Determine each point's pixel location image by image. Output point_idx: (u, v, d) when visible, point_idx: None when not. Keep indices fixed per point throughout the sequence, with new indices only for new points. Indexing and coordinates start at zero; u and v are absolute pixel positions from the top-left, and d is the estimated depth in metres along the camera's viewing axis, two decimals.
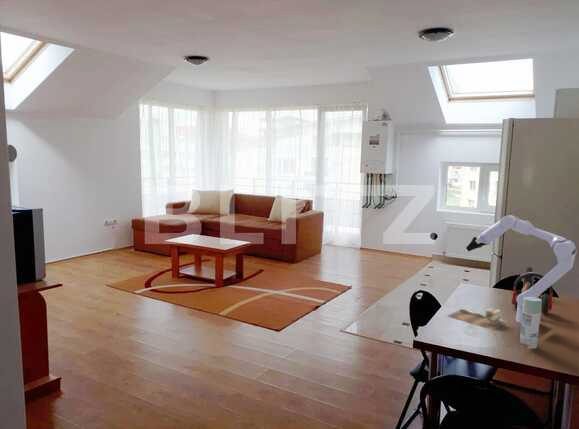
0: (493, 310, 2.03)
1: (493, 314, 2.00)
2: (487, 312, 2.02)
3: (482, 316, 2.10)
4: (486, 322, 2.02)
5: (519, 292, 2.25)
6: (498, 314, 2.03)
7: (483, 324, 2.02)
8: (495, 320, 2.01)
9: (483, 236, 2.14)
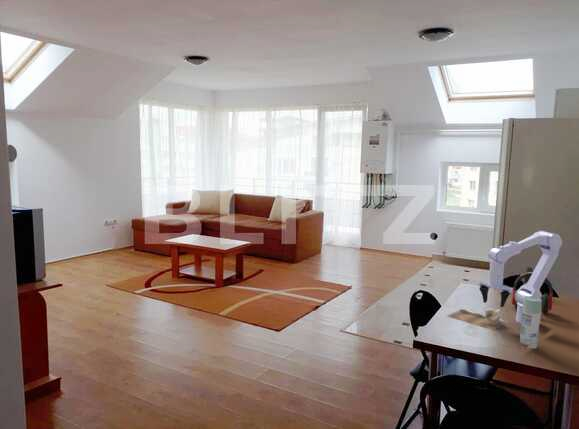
0: (493, 310, 2.03)
1: (493, 314, 2.00)
2: (487, 312, 2.02)
3: (482, 316, 2.10)
4: (486, 322, 2.02)
5: None
6: (498, 314, 2.03)
7: (483, 324, 2.02)
8: (495, 320, 2.01)
9: (500, 284, 1.99)
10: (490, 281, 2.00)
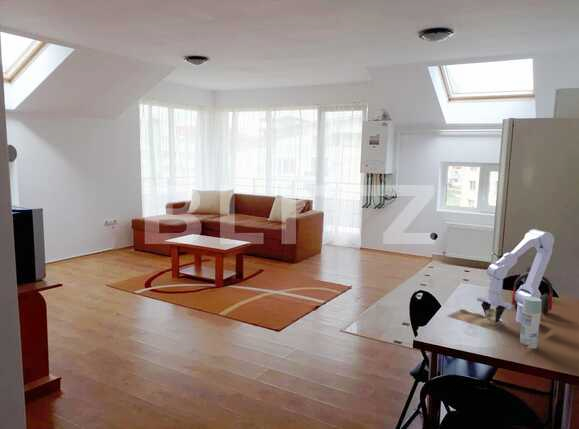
0: (493, 310, 2.03)
1: (493, 314, 2.00)
2: (487, 312, 2.02)
3: (482, 316, 2.10)
4: (486, 322, 2.02)
5: None
6: None
7: (483, 324, 2.02)
8: (495, 320, 2.01)
9: (499, 300, 2.00)
10: (489, 297, 2.01)
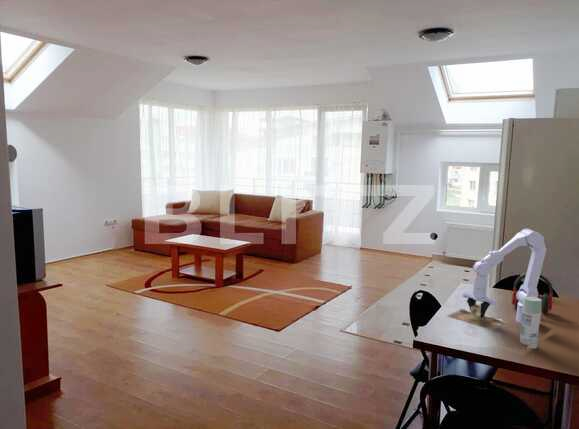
0: (478, 306, 2.08)
1: (478, 310, 2.05)
2: (472, 308, 2.07)
3: None
4: (472, 317, 2.07)
5: None
6: None
7: (483, 324, 2.02)
8: (480, 316, 2.06)
9: (484, 296, 2.05)
10: (474, 293, 2.06)
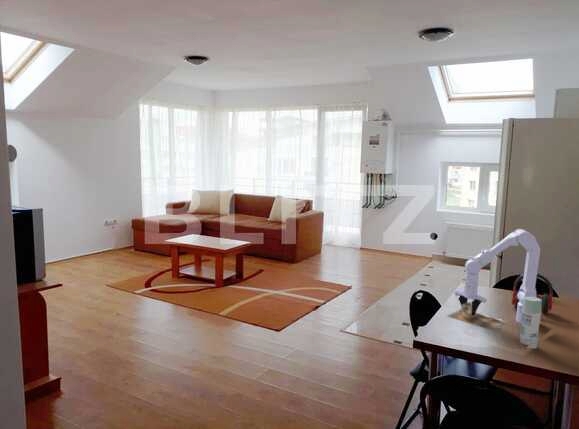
0: (469, 303, 2.11)
1: (469, 307, 2.08)
2: (464, 306, 2.10)
3: (482, 316, 2.10)
4: (463, 315, 2.10)
5: None
6: None
7: (483, 324, 2.02)
8: (471, 313, 2.09)
9: (475, 294, 2.08)
10: (465, 291, 2.09)
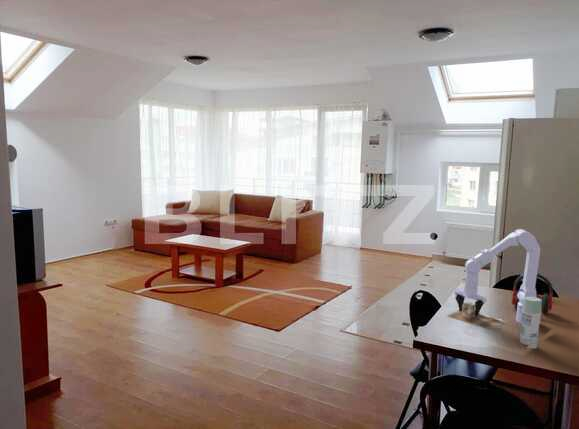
0: (469, 303, 2.11)
1: (469, 307, 2.08)
2: (464, 306, 2.10)
3: (482, 316, 2.10)
4: (463, 315, 2.10)
5: None
6: (474, 308, 2.11)
7: (483, 324, 2.02)
8: (471, 313, 2.09)
9: (475, 294, 2.08)
10: (465, 291, 2.09)
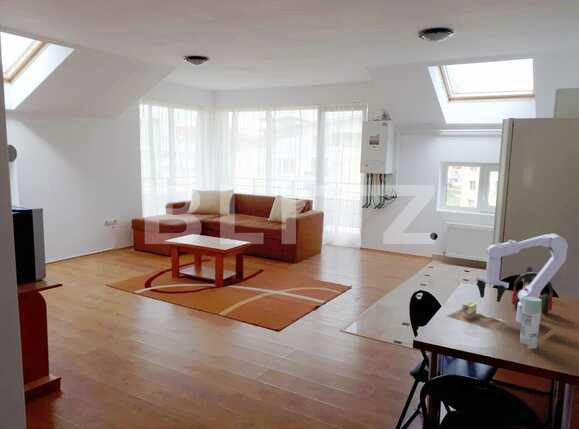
0: (469, 303, 2.11)
1: (469, 307, 2.08)
2: (464, 306, 2.10)
3: (482, 316, 2.10)
4: (463, 315, 2.10)
5: None
6: (474, 308, 2.11)
7: (483, 324, 2.02)
8: (471, 313, 2.09)
9: (497, 280, 2.06)
10: (487, 277, 2.07)
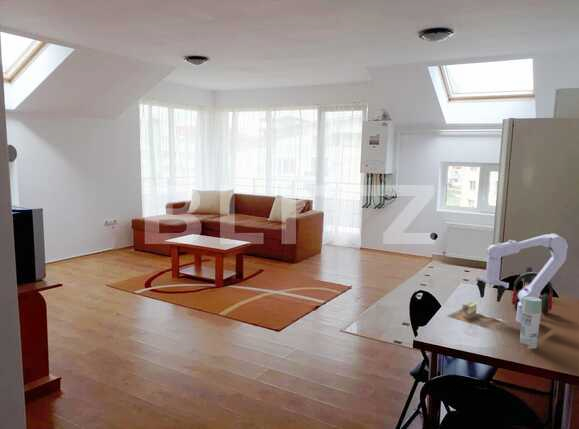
0: (469, 303, 2.11)
1: (469, 307, 2.08)
2: (464, 306, 2.10)
3: (482, 316, 2.10)
4: (463, 315, 2.10)
5: None
6: (474, 308, 2.11)
7: (483, 324, 2.02)
8: (471, 313, 2.09)
9: (497, 280, 2.06)
10: (487, 277, 2.07)
